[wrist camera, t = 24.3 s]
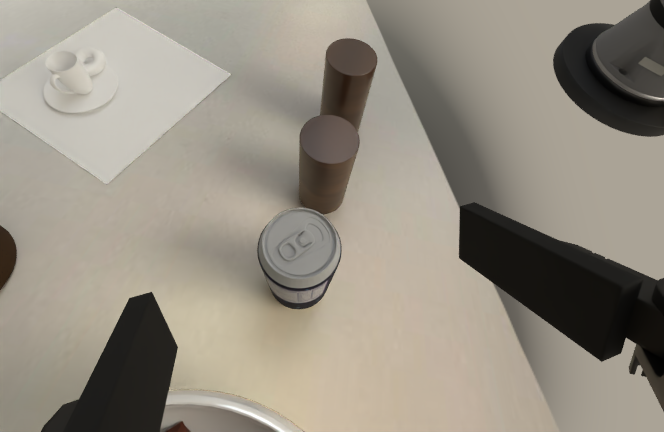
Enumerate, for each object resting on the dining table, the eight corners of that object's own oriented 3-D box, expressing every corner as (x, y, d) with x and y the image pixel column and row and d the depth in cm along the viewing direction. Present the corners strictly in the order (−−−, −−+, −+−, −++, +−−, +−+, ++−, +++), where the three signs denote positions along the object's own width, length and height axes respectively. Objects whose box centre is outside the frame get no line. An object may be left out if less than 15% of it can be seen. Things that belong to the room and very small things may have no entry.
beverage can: (339, 286, 31) (361, 250, 20) (292, 323, 30) (289, 305, 19) (305, 242, 33) (309, 187, 22) (258, 275, 31) (237, 233, 20)
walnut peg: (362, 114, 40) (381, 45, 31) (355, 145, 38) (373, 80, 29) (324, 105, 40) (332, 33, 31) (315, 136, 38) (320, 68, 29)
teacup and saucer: (92, 52, 40) (71, 21, 36) (140, 81, 39) (123, 52, 35) (30, 93, 36) (-1, 64, 33) (80, 127, 35) (54, 100, 32)
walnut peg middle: (347, 180, 36) (364, 122, 27) (338, 218, 34) (353, 170, 25) (305, 170, 36) (307, 108, 27) (294, 208, 34) (292, 155, 25)
